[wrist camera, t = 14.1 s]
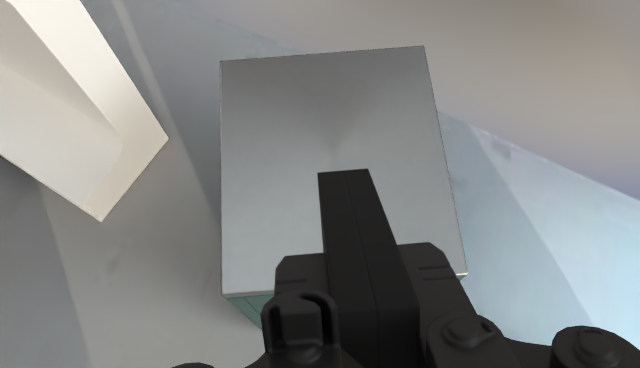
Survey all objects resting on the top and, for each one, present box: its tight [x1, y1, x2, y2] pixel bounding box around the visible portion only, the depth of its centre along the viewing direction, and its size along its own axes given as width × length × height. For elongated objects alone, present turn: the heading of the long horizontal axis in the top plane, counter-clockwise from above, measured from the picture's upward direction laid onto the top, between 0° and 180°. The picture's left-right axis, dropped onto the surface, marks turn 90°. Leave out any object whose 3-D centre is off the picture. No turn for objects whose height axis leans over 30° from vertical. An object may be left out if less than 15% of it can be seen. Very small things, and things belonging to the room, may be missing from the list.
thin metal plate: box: [220, 46, 468, 298], centre depth 24 cm, size 12×11×1 cm
